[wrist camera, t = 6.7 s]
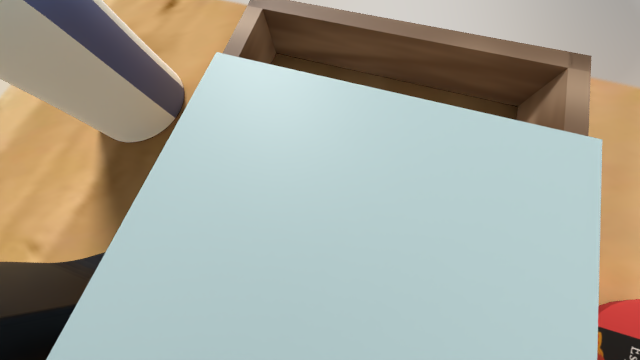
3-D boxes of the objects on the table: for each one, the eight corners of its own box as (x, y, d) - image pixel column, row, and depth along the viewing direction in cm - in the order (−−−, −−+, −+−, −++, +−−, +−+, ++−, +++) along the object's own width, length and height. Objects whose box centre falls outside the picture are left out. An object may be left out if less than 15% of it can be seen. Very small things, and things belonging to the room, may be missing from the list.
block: (363, 312, 14) (586, 870, 1) (286, 282, 15) (-12, 463, 2) (384, 230, 15) (602, 140, 3) (312, 207, 16) (216, 51, 3)
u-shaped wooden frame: (521, 240, 15) (584, 238, 11) (216, 149, 18) (185, 124, 15) (536, 96, 18) (591, 55, 14) (268, 39, 21) (253, -7, 17)
